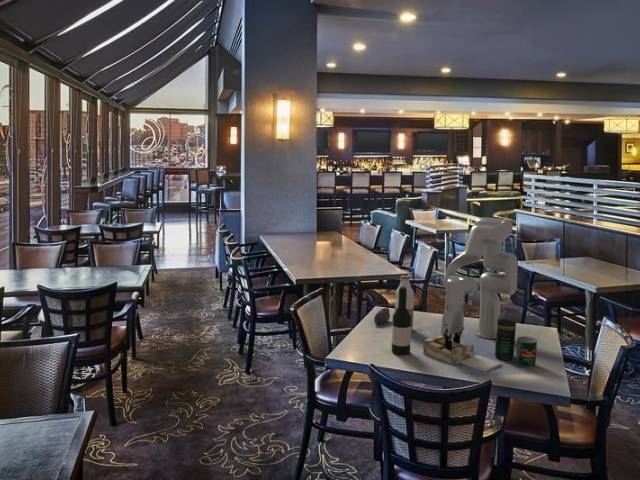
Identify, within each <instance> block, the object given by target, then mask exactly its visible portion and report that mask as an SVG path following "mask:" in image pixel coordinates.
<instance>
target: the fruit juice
mask: <svg viewBox="0 0 640 480" xmlns="http://www.w3.org/2000/svg"><path fill="white" fill-rule="evenodd" d="M399 279H400V282H399V286H398V287H397V289H396V290H395V297H396V299H395V300H394V301H395V302H394V312H395V311H396V310H397V308H398V306H399V288H400V287H401V286H404V287H406V289H407V295H406V308H407V310H408V312H409V314H410V316H411V332H413V328H414V307H415V303H414V301H413V300H414V295H415V292H414V290H413V288H412V287H411V284H410V280H411V276H409V275H407V274H405V275H403V274H401V275H400V276H399Z"/></svg>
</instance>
